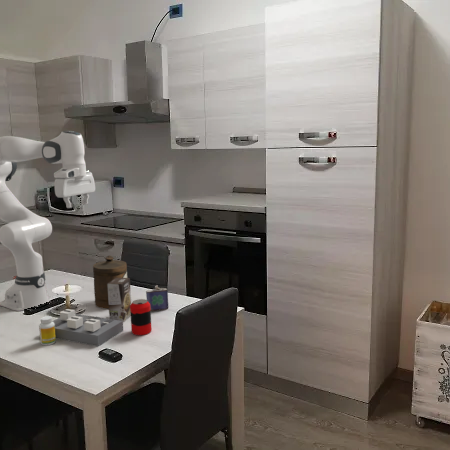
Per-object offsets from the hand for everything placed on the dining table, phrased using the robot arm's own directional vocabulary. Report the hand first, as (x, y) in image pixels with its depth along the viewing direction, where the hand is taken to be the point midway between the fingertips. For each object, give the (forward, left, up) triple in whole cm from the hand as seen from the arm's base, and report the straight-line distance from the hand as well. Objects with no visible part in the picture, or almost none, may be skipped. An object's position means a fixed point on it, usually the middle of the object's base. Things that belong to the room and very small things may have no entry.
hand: (77, 206), depth 198 cm
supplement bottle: (+6, -28, -47) cm, 55 cm away
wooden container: (+1, +16, -47) cm, 49 cm away
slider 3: (+20, -21, -42) cm, 51 cm away
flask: (+25, +16, -47) cm, 55 cm away
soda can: (+32, -7, -47) cm, 57 cm away
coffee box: (+16, +2, -47) cm, 49 cm away
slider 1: (+4, -16, -42) cm, 45 cm away
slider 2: (+12, -21, -42) cm, 49 cm away
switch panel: (+9, -16, -46) cm, 50 cm away
